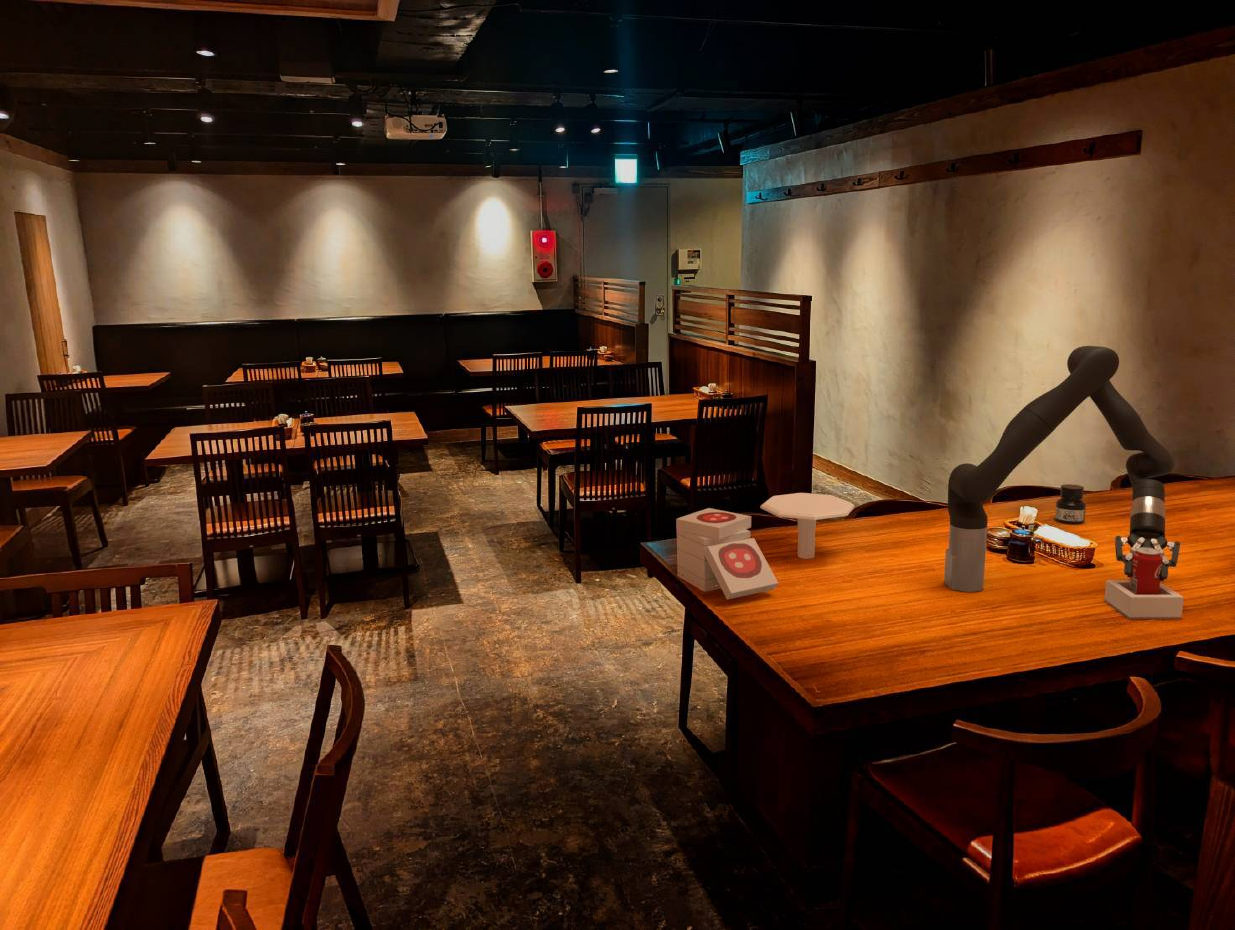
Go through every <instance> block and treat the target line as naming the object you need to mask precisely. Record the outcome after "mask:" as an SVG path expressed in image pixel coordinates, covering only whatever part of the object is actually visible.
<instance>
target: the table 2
mask: <svg viewBox="0 0 1235 930" xmlns="http://www.w3.org/2000/svg"><path fill="white" fill-rule="evenodd" d="M854 508H855V504H853V503H852V502H851V501H848V500H845V499H843V498H841V497H837V496H835V495H831V494H821V493H819V494H818V493H811V492H810V493H808V492H796V493H789V494H788V493H787V494H780V495H773V496H772V497H770V498H769V499H767V500H766V501H765V502H764V503H762V504H761V505H760V509H761V510H763V511H766V512H767V513H770V514H772V515H774V516H776V517H781V518H788V519H789V518H790V519H797V532H798V539H797V557H798V558H800V559H806V560H810V559H814V558H815V556H816V554H815V553H816V537H815V536H816V529H817V528H816V526H817V520H823V519H832V518H840V517H847V516H849V514H850V513H851V512H852V511H853V510H854ZM799 553H800V554H801V555H800V554H799ZM813 554H814V555H813ZM806 555H807V556H806ZM808 555H809V556H808Z"/></svg>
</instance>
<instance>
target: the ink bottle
mask: <svg viewBox="0 0 1235 930" xmlns="http://www.w3.org/2000/svg"><path fill="white" fill-rule="evenodd" d="M1084 490H1085V487H1084V486H1082V485H1080V484H1069V483H1068V484H1066V483H1065V484H1062V485H1060V495H1059V496H1060V498H1059V499H1057V500H1056V502H1055V512H1054V513H1055V514H1054V520H1055V521H1056V522H1059V523H1062V524H1067V525H1081V524H1084V522H1085V519H1086V509H1087V503H1086V502H1085V501H1084V500H1083V498H1084Z"/></svg>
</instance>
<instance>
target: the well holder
mask: <svg viewBox="0 0 1235 930" xmlns="http://www.w3.org/2000/svg"><path fill="white" fill-rule="evenodd" d="M1129 583H1130V579H1122V580H1121V579H1118V580H1117V579H1111V580H1109V579H1108V580H1107V579H1106V581H1105V589H1104V602H1105V603H1106V604H1107V605H1109V606H1111V607H1112V608H1113V609H1115V610H1116V611H1117V612H1119V613H1120V614H1122V615H1123V616H1125V618H1127V619H1129V620H1181V619H1182V616H1183V608H1184V607H1183V606H1184V599H1185V597H1184V595H1183V596H1182V595H1181V594H1179V593H1178V592H1177V591H1174V590H1172V589H1171V588H1169V586H1166V585H1164V584H1163V583H1161V582H1160V588H1159V595H1135V594H1133V593H1132V592H1130V591H1129Z"/></svg>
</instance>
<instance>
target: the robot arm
mask: <svg viewBox="0 0 1235 930" xmlns="http://www.w3.org/2000/svg"><path fill="white" fill-rule="evenodd" d="M1066 364H1067V366H1066V367H1067V370H1068V372H1069V375H1068V376H1067V377H1066V378H1065V379H1063V381H1062V382H1061V383H1060V384H1058V385H1057V386H1054V387H1053V388H1052V389H1050V390H1049V391H1047V392H1045V393H1043V394H1041V395H1040V396H1038V397H1036V398H1034V399H1032V401H1030V402H1029V403H1028V404H1026V405H1025V406H1024V407H1023V408H1022V409H1021V410H1020V411H1019V412H1018V413H1017V414H1016V415H1015V416H1014V417H1013V418H1012V419H1011V420H1010V421H1009V422H1008V423H1007V425H1006V427H1005V429H1004V431H1002V432H1003V433H1002V434H1001V437H1000V439H999V441H998V444H997V445H996V447H995V449H993V451H992V452H990V454H989V455H988V456H987V457H986V458H985V459H983V461H982V462H980V463H979V464H978V465H976V464H973V463H961V464H959V465H957V466H956V467H954V468H953V469H952V471H951V472H950V475H949V477H948V486H947V511H948V516H949V532H948V535H949V536H948V547H947V548H946V549H945V555H944V556H945V558H944V573H943V574H944V576H943V583H944V584H945V585H946V586H947V587H948V589H949V590H950V591H959V592H965V593H976V592H980V591H982V590H983V589H984V585H985V569H986V555H987V554H986V551H987V540H988V539H987V538H988V537H987V536H988V535H987V534H988V520H989V518H988V515H987V513H986V511H985V508H984V505H983V504H984V503H983V502H985V501H987V500H988V499H990V498H991V497H992V496H993V495H994V493H995V492H996V491H997V490H998V489H999V488H1000V486H1001V485H1002V484H1003V483H1004V482H1005V480H1006V479H1007V478H1008V477H1009V475H1010V474H1011V473H1012V472H1013V471H1014V470H1015V469H1016V468H1017V467H1018V466H1019V465H1020V464H1021V463H1022V462H1023V461H1024V460H1025V459H1026V458H1028V456H1029V455H1030V454H1031V453H1032V452H1033V451H1034V450H1035V449H1036V448H1037V447H1039V446H1040V444H1042V443H1043V442H1044V441H1045V440H1046V439H1047V438H1048V437H1049V436H1050V435H1051V434H1052V433H1053V432H1054V431H1055V430H1056V429H1057V427H1059V426H1060V425H1061V424H1062V423H1063V422H1064V421H1065V420H1066V419H1067V418H1068V417H1069V416H1070V415H1071V414H1072V413H1073V412H1074V411H1075V410H1076V409H1077V408H1078V407H1079V406H1080V405H1081V404H1082V403H1084V401H1085V400H1087V399H1088V398H1090V399H1091V400H1092V402H1093V403H1094V404H1095V406H1096V408H1097V409H1098V410H1099V412H1100V414H1102V416H1103V418H1104V419H1105V420H1106V423H1107V424H1108V426H1109V427H1110V430H1111V431H1112V433H1113V434H1114V436H1115V437H1116V439H1117V441H1118V443H1119V445H1120V446H1121V448H1123V450H1125V451H1132V452H1135V451H1136V452H1137V451H1139V452H1137V453H1133V454H1131V455H1130V456H1128V458H1127V459H1126V462H1125V469H1126V472H1127V475H1128V477H1129V481H1130V485H1131V489H1132V494H1131V495H1132V496H1131V497H1132V499H1131V507H1130V515H1129V535H1128V536H1127V537H1121V535H1116V536H1115V538H1114V547H1115V558H1116V561H1117V562H1122V563H1124V567H1123V569H1124V571H1123V574H1124V575H1125V576H1127V578H1129V579H1130V578H1131V567H1132V554H1133V553H1134V552H1135V551H1136V549H1137V548H1141V547H1146V548H1153V549H1156V550H1159V551H1160V555H1161V556H1162V558H1163V559H1162V569H1161V578H1160V582H1164V581H1165V580H1167V579H1168V577H1169V568H1171V567H1172V568H1176V567H1177V563H1178V559H1179V555H1180V547H1181V542H1180V541H1178V540H1176V541H1174V542H1173V541H1168V540H1167V538H1166V507H1165V503H1166V501H1165V497H1166V489H1165V486H1164V484H1163V483H1162V482H1161V481H1159V480H1158V479H1157V480H1156V479H1153V478H1157V477H1161V476H1166V475H1169V474H1170V473H1172V472H1173V469H1174V467H1175V462H1174V458H1173V455H1172V454H1171V453H1170V452H1169V450H1168V449H1167V448H1166V447H1165V446H1163V445H1162V444H1161V443H1160V442H1159V441H1158V440H1157V439H1156V438H1155V437H1154V436H1153V435H1152V434H1151V433H1150V432H1149V431H1148V429H1147V427H1146V425H1145V424H1144V422H1143V420H1142V418H1141V417H1140V415H1139V413H1138V412H1137V411H1136V410H1135V408H1134V407H1133V406H1132V405H1131V404H1130V403H1129V402H1128V401H1127V400H1126V399H1125V398H1124V397H1123V395H1121V394H1120V393H1119V391H1118V390H1117V389H1116V388H1115V386H1114V384H1112V382H1111V379H1112V378H1113V377H1114V376H1115V374H1116V373H1117V371H1118V369H1119V367H1120V358H1119V355H1118V353H1117V352H1116V351H1115V350H1114V349H1111V348H1109V347H1106V346H1100V345H1099V346H1098V345H1097V346H1096V345H1082V346H1079V347H1076V348H1075V349H1073V350H1072V352H1071V353H1070V354H1069V356H1068V358H1067V363H1066ZM1126 543H1127V544H1128V546H1129V547H1130V550H1129V552H1128V553H1127V554H1124V553H1123V547H1125V544H1126ZM1166 547H1167V548H1168V550H1169V551H1170V552H1172V553H1171V559H1168V558H1167V557H1166V554H1165V552H1164V550H1165V549H1166Z"/></svg>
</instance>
